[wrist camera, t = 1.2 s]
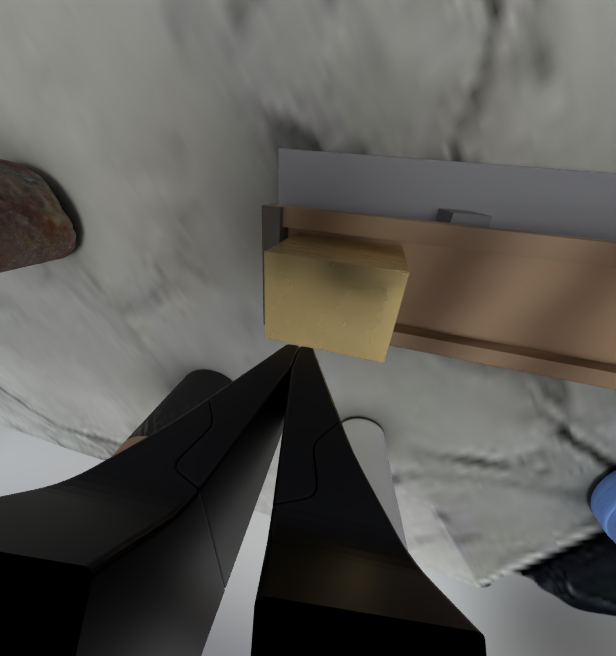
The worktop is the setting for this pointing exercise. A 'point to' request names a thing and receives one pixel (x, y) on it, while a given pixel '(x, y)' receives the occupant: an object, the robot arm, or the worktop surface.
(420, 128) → the worktop surface
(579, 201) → the stand
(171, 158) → the worktop surface
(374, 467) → the drinking glass
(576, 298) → the beam
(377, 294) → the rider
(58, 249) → the candle
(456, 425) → the worktop surface
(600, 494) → the water jug
